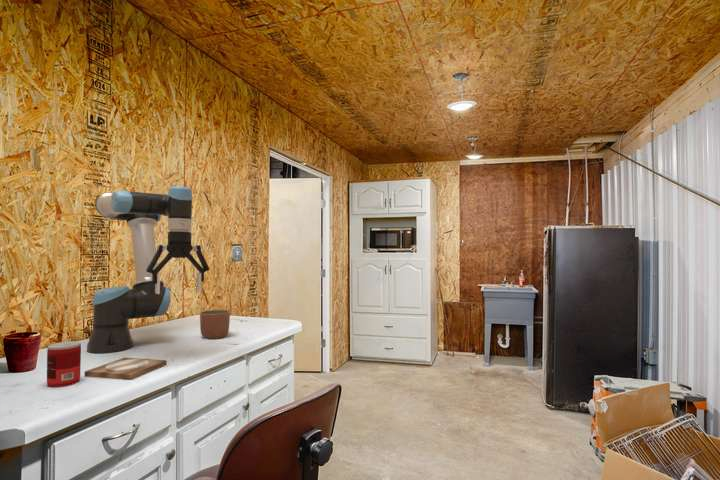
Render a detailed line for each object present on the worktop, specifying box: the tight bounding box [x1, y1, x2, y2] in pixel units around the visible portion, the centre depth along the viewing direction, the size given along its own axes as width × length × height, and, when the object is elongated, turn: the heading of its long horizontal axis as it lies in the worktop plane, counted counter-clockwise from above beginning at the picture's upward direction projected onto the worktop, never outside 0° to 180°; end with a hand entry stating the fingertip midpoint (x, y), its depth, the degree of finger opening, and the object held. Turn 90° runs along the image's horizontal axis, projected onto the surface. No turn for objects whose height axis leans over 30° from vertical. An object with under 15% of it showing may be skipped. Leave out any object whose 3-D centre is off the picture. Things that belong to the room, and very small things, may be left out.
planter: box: [199, 309, 231, 340], centre depth 178 cm, size 12×12×11 cm
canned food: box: [46, 340, 82, 388], centre depth 117 cm, size 8×8×11 cm
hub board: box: [84, 357, 168, 381], centre depth 129 cm, size 16×16×2 cm
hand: (178, 292), depth 142 cm, fingers open, 13 cm apart
